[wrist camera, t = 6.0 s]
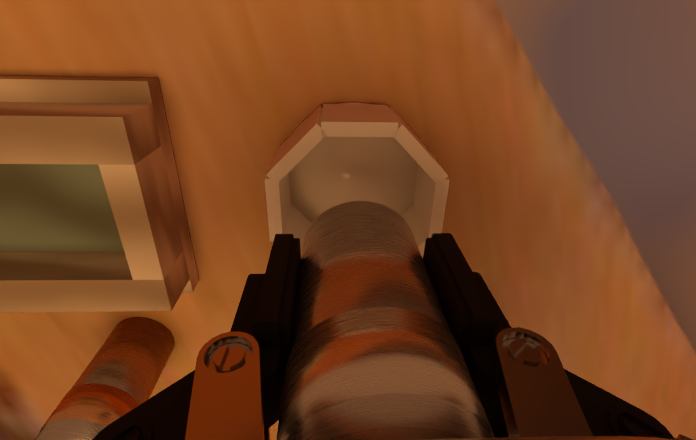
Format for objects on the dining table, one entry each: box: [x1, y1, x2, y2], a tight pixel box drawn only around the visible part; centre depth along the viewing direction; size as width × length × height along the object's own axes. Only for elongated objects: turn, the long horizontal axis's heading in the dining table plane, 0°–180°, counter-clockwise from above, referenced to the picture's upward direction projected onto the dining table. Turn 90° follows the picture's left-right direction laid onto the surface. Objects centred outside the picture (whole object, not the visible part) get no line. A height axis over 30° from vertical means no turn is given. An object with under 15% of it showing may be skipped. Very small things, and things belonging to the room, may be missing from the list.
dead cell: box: [277, 201, 495, 440], centre depth 9 cm, size 4×4×9 cm
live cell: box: [35, 317, 174, 440], centre depth 22 cm, size 4×4×9 cm
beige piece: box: [264, 102, 450, 257], centre depth 19 cm, size 8×8×4 cm
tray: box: [0, 75, 199, 312], centre depth 19 cm, size 12×13×4 cm
